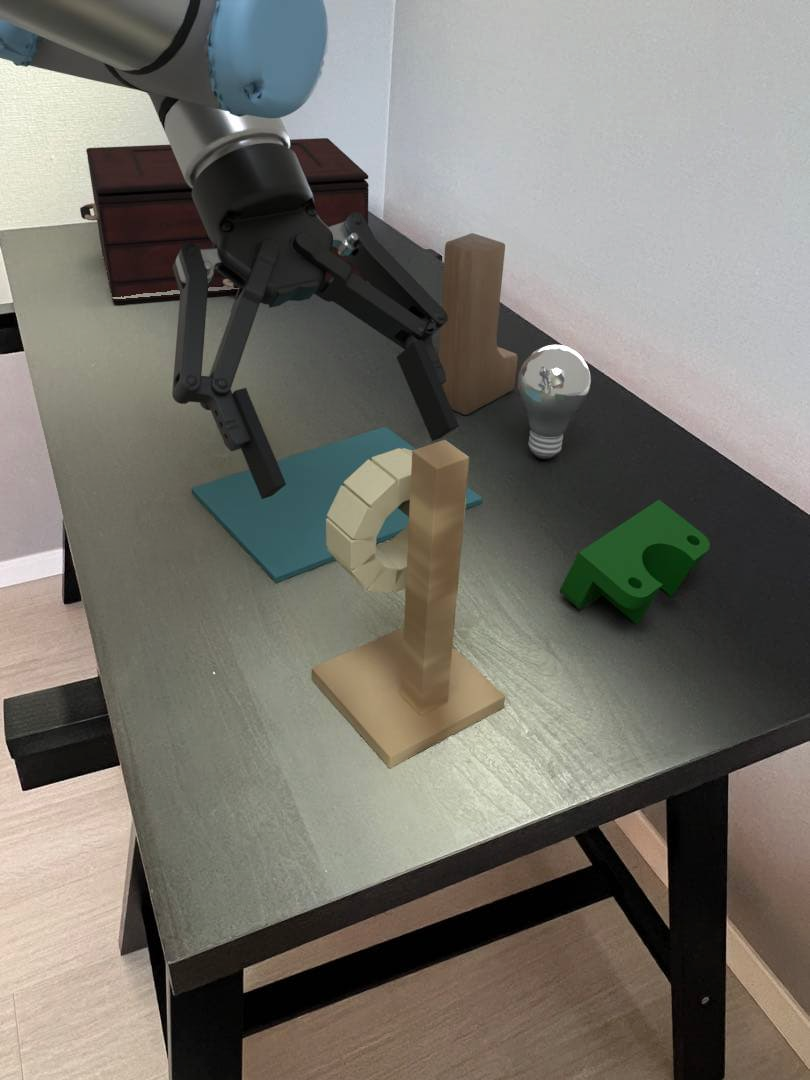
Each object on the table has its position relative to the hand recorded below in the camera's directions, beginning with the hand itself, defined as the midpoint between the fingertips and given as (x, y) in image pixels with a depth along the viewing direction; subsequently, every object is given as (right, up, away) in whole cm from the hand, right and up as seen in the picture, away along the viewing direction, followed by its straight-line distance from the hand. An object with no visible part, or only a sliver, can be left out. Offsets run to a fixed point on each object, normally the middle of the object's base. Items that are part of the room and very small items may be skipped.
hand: (364, 462), depth 63 cm
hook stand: (+3, -16, +6) cm, 18 cm away
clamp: (+21, -10, +16) cm, 29 cm away
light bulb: (+17, +3, +33) cm, 37 cm away
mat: (-4, -1, +26) cm, 26 cm away
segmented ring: (+2, -8, +2) cm, 8 cm away
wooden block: (+11, +11, +44) cm, 46 cm away
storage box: (-22, +33, +72) cm, 82 cm away
